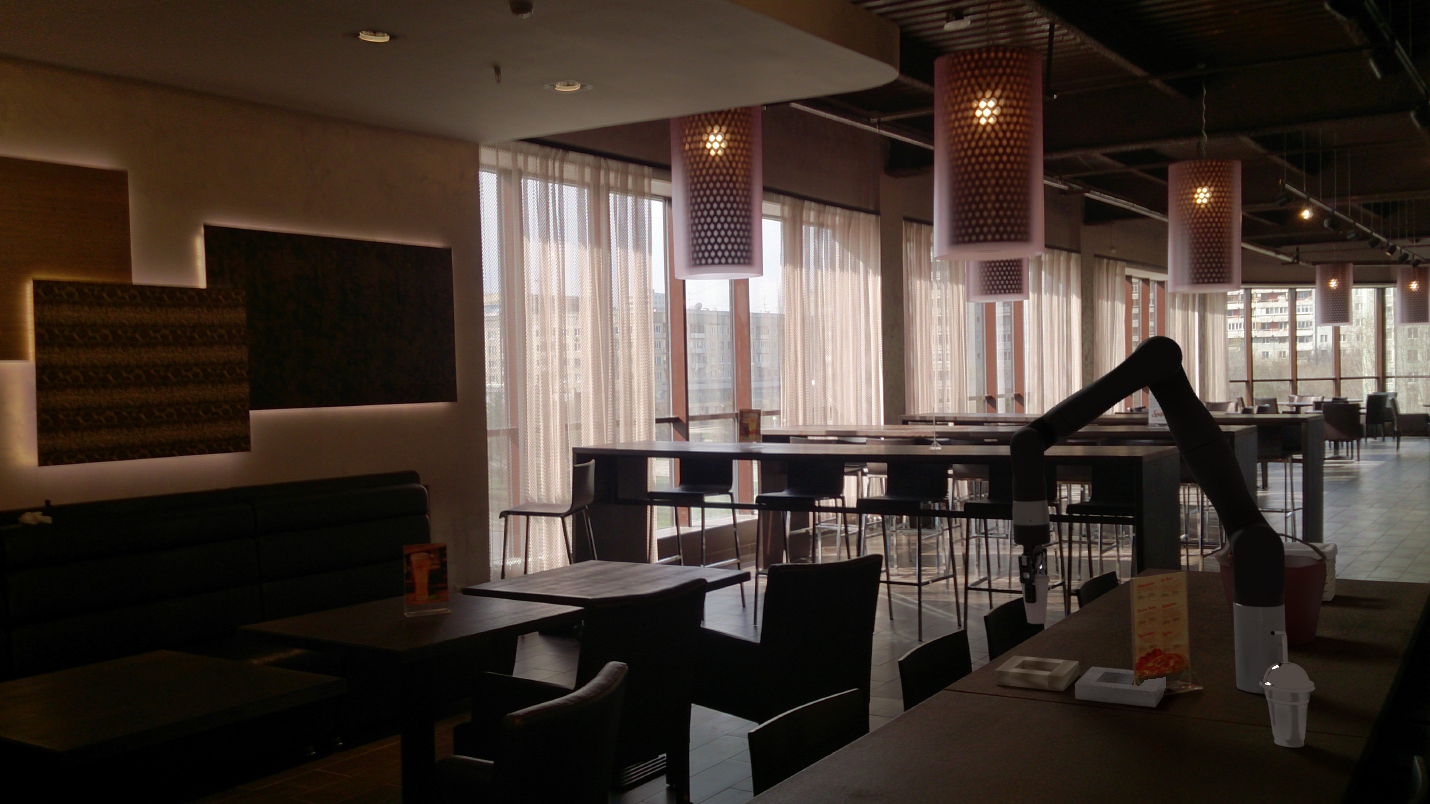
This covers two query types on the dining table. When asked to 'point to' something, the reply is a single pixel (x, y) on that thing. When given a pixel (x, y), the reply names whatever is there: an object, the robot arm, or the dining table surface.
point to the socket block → (1037, 673)
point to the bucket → (1289, 590)
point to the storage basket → (1327, 549)
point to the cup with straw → (1287, 699)
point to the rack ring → (1118, 687)
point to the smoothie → (1038, 609)
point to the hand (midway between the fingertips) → (1035, 599)
